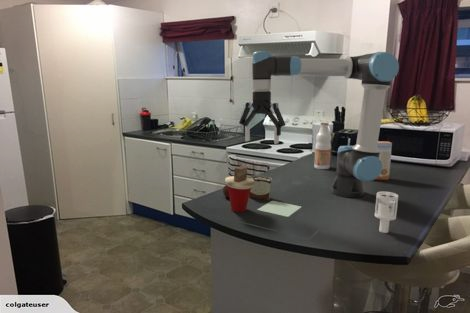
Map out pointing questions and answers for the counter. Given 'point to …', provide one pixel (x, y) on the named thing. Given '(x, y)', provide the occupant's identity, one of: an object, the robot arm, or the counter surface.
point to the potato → (226, 191)
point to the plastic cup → (238, 198)
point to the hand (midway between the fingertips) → (261, 142)
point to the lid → (240, 178)
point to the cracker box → (384, 159)
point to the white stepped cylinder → (386, 209)
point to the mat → (279, 208)
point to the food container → (261, 187)
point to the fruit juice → (323, 147)
